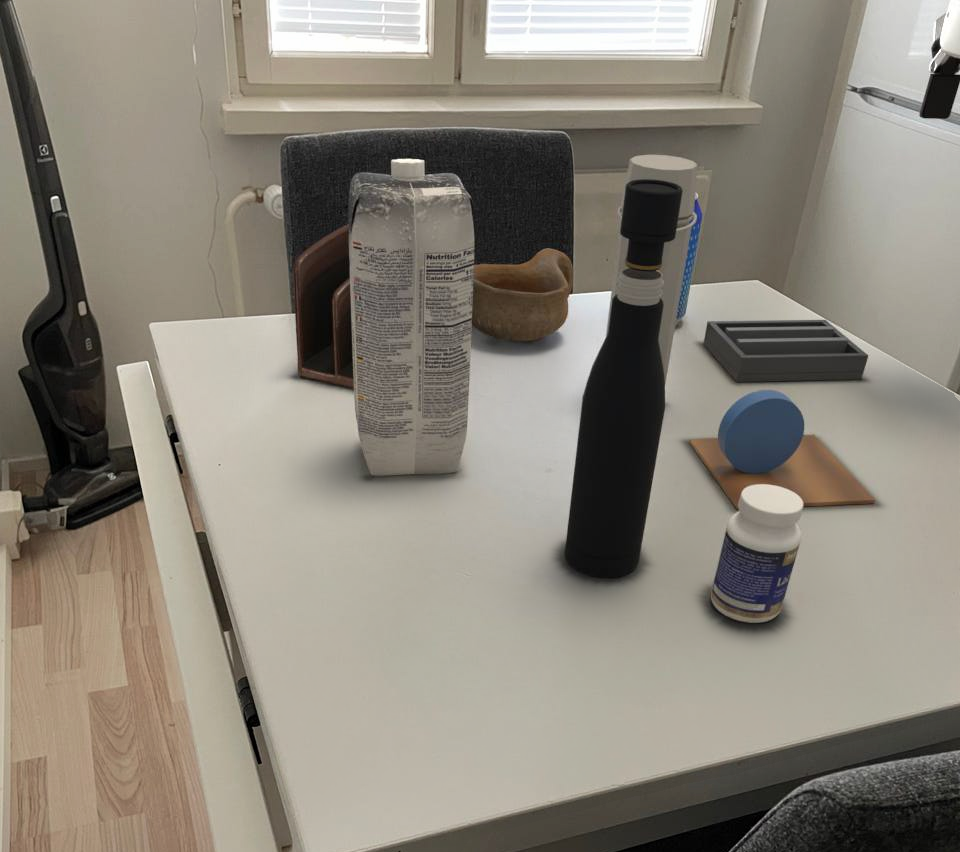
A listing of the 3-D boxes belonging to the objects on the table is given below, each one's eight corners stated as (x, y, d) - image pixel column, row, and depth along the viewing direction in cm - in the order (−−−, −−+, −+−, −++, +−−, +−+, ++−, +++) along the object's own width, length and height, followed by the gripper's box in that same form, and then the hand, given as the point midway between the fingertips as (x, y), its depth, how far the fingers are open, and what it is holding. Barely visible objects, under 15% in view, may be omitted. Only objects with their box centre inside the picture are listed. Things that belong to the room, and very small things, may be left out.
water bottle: (598, 386, 114) (627, 150, 99) (666, 394, 113) (706, 157, 98) (589, 419, 107) (618, 170, 92) (661, 428, 106) (704, 178, 91)
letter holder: (297, 377, 113) (287, 250, 104) (376, 322, 127) (373, 207, 119) (375, 394, 110) (372, 265, 101) (447, 336, 125) (449, 219, 116)
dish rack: (819, 342, 129) (826, 315, 127) (861, 379, 120) (869, 351, 118) (703, 344, 127) (708, 317, 125) (736, 382, 117) (742, 353, 115)
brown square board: (813, 438, 106) (814, 434, 106) (874, 503, 95) (875, 499, 95) (688, 442, 104) (689, 438, 104) (736, 509, 93) (737, 505, 93)
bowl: (489, 287, 136) (512, 217, 129) (578, 334, 134) (606, 265, 127) (430, 326, 123) (452, 250, 116) (527, 379, 121) (556, 304, 114)
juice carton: (469, 478, 96) (482, 178, 79) (360, 483, 94) (350, 177, 77) (456, 437, 102) (465, 153, 86) (354, 440, 101) (343, 151, 84)
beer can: (640, 304, 138) (657, 180, 128) (694, 318, 134) (717, 193, 124) (609, 320, 132) (626, 192, 122) (666, 335, 128) (687, 205, 119)
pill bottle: (782, 630, 78) (814, 521, 72) (709, 620, 79) (734, 511, 73) (778, 590, 83) (807, 484, 77) (709, 581, 83) (732, 475, 77)
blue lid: (808, 432, 98) (776, 373, 94) (817, 441, 97) (784, 381, 92) (739, 478, 101) (703, 423, 96) (746, 488, 99) (710, 432, 94)
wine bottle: (586, 584, 82) (637, 200, 64) (551, 545, 87) (590, 176, 68) (652, 570, 84) (720, 194, 66) (615, 532, 89) (669, 172, 70)
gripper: (1124, -77, 83) (1043, 147, 93) (1006, -85, 96) (947, 111, 107) (1043, -81, 82) (971, 146, 92) (935, -89, 95) (883, 110, 106)
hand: (958, 127), depth 99 cm, fingers open, 9 cm apart
